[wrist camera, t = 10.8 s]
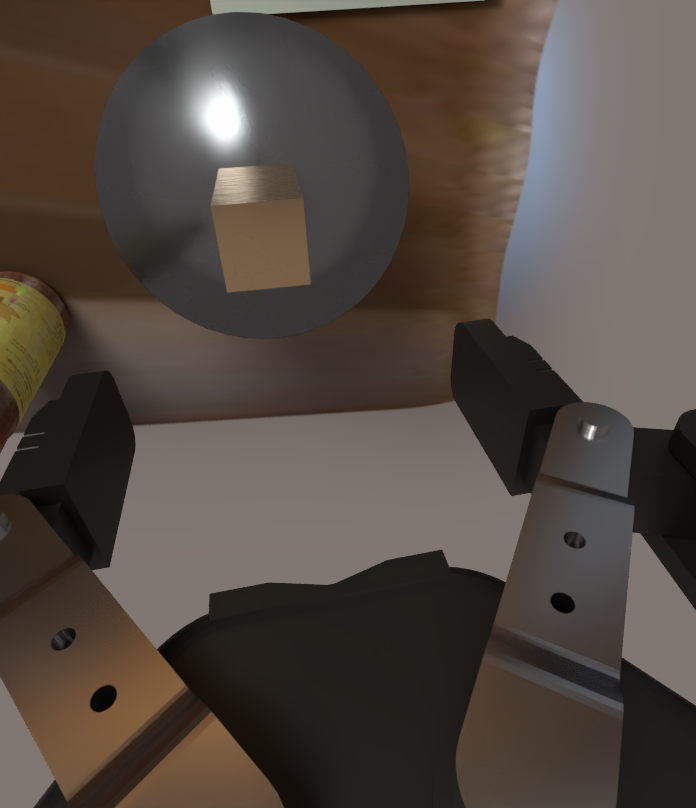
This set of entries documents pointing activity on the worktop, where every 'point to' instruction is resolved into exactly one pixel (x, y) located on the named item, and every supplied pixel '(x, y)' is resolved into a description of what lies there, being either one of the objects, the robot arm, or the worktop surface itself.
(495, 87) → the worktop surface
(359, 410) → the worktop surface
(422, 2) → the mat
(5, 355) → the sauce bottle
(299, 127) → the lid
